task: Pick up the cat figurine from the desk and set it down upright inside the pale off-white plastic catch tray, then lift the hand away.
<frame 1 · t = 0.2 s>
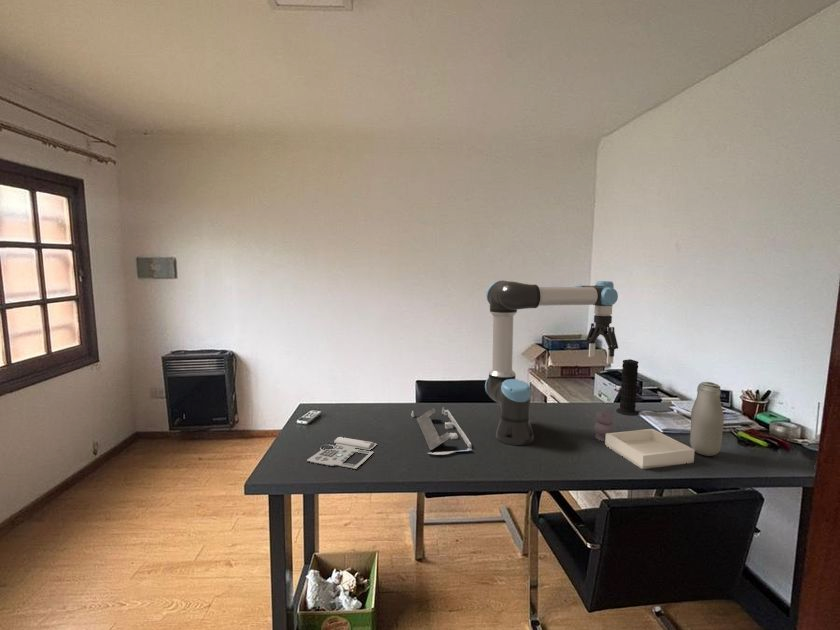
hand: (600, 360, 194), 28 cm above the table, tool pointing down, fingers open, 13 cm apart
beige milk bottle: (703, 454, 159), on the table
handle grip: (627, 412, 205), on the table
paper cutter: (439, 434, 179), on the table
office telephone: (346, 455, 159), on the table
catch tray: (647, 453, 159), on the table
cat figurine: (603, 439, 173), on the table
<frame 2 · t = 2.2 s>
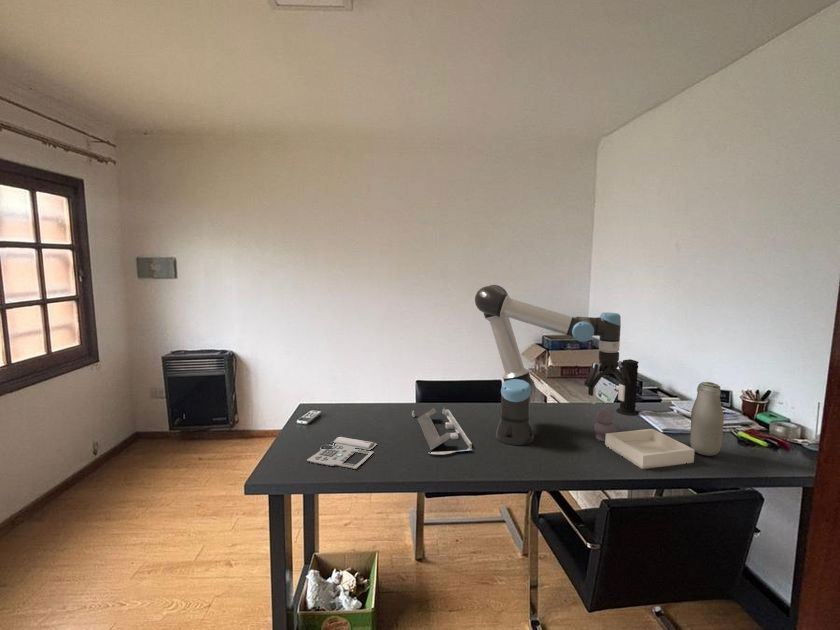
hand: (606, 401, 171), 16 cm above the table, tool pointing down, fingers open, 13 cm apart
nothing on the table moved.
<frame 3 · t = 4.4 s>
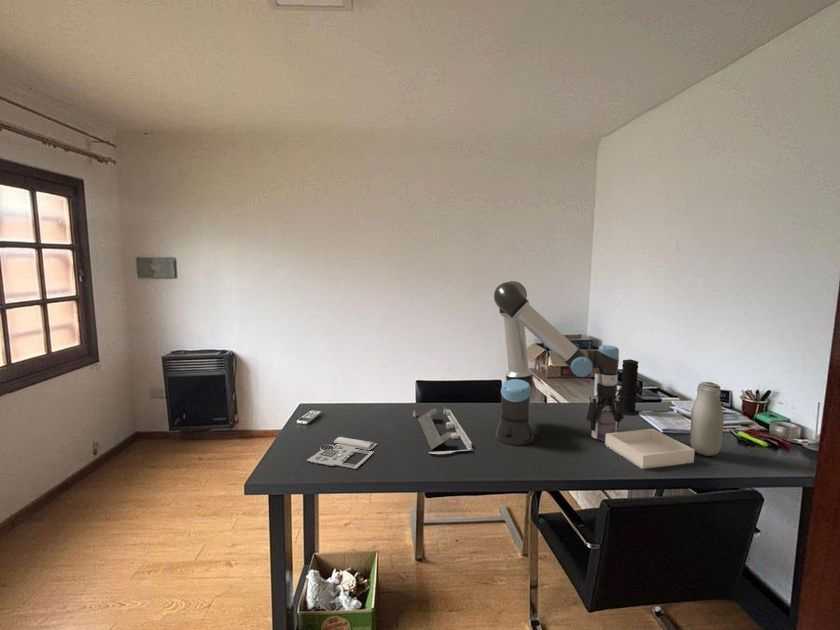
hand: (603, 436, 173), 1 cm above the table, tool pointing down, fingers closed on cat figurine, 8 cm apart
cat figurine: (603, 438, 173), on the table, touching gripper
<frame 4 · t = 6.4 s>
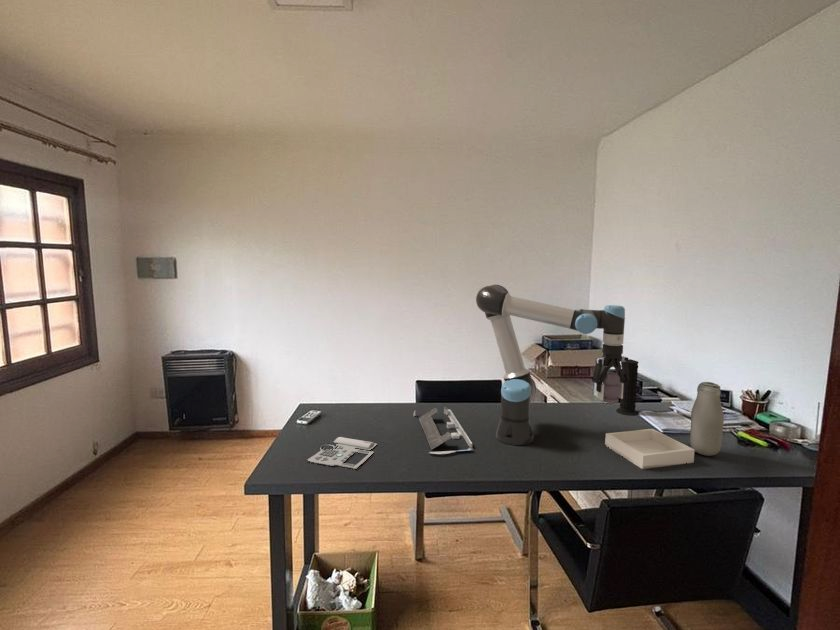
hand: (609, 398, 170), 17 cm above the table, tool pointing down, fingers closed on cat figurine, 8 cm apart
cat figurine: (609, 401, 170), point 16 cm above the table, touching gripper
everything else where it was.
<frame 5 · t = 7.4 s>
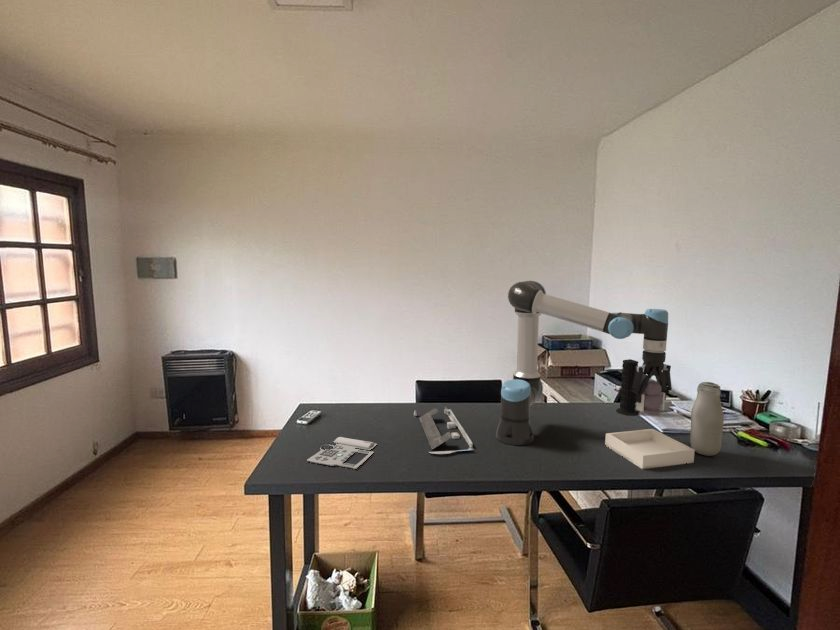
hand: (650, 409, 157), 17 cm above the table, tool pointing down, fingers closed on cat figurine, 8 cm apart
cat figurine: (649, 412, 158), point 16 cm above the table, touching gripper
everything else where it was.
when the fingers open (4 cm above the table, at t = 10.8 s): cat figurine drops 2 cm, resting on catch tray.
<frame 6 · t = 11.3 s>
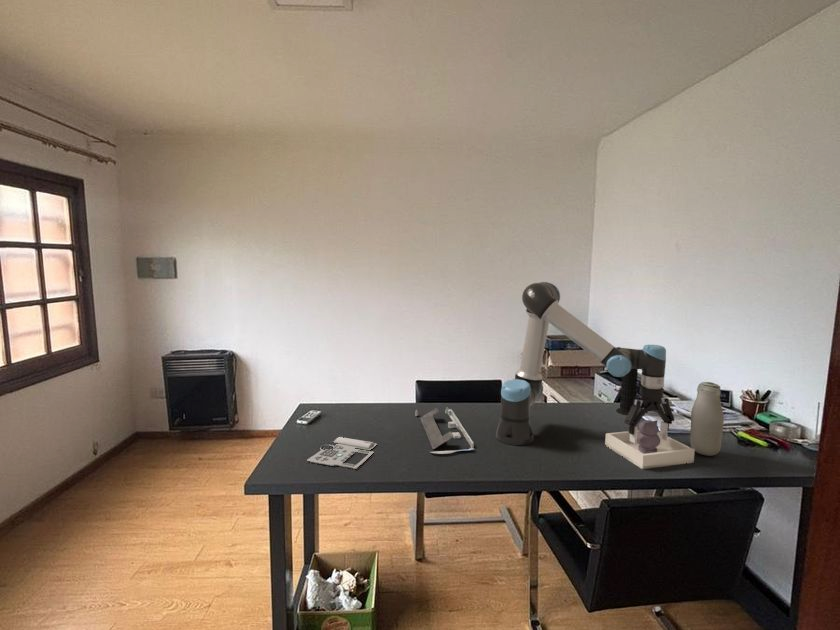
hand: (648, 440, 159), 5 cm above the table, tool pointing down, fingers open, 13 cm apart
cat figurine: (647, 451, 159), point 1 cm above the table, touching catch tray
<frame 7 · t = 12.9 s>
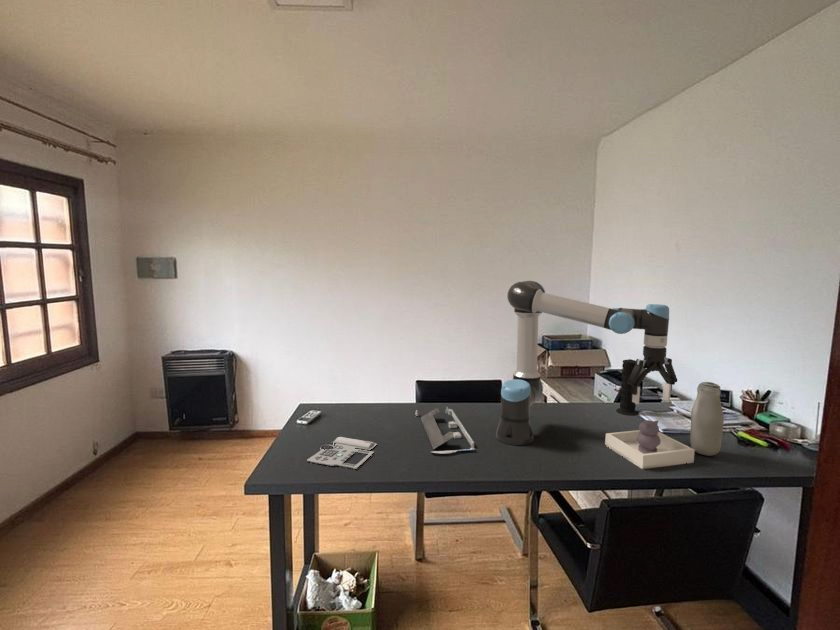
hand: (650, 401, 157), 20 cm above the table, tool pointing down, fingers open, 13 cm apart
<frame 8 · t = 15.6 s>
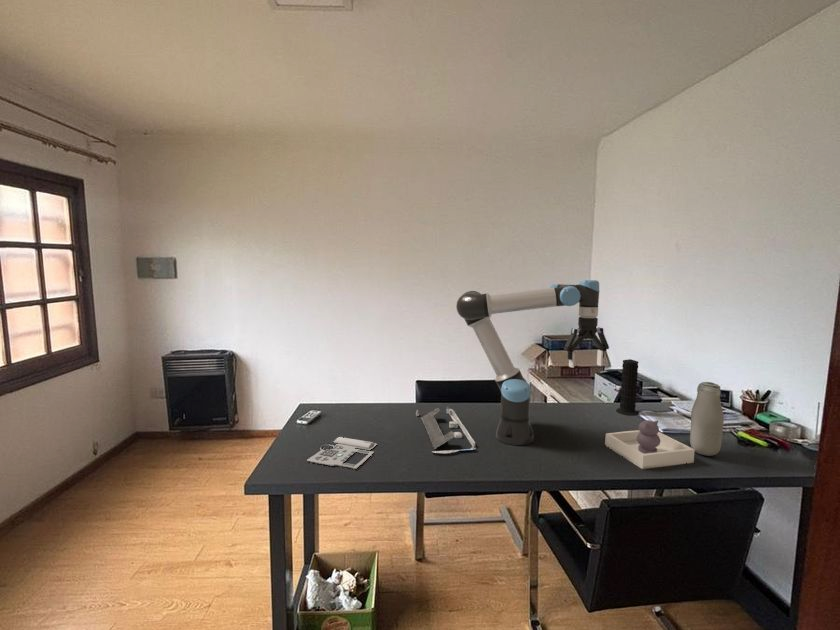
hand: (585, 366, 178), 29 cm above the table, tool pointing down, fingers open, 13 cm apart
at the end: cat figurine inside the target area on the catch tray (0.0 cm from its centre), point 0.8 cm above the catch tray's base; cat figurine tilted 0°; the gripper is holding nothing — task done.
